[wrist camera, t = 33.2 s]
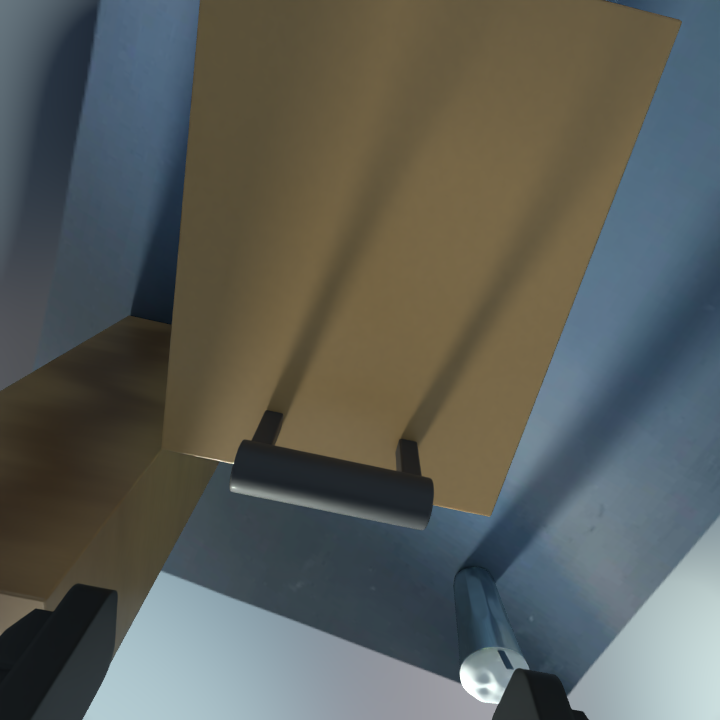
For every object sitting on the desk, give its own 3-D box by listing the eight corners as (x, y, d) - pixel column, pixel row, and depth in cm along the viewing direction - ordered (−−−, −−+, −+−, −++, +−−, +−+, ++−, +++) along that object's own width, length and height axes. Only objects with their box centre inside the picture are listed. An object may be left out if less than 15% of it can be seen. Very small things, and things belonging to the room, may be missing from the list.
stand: (123, 418, 37) (-205, 738, 16) (128, 315, 34) (-261, 542, 13) (231, 440, 37) (47, 781, 16) (245, 340, 34) (45, 600, 14)
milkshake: (508, 554, 40) (548, 672, 30) (495, 605, 42) (530, 731, 32) (451, 549, 40) (473, 665, 30) (441, 600, 42) (459, 724, 32)
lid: (486, 504, 20) (517, 600, 16) (168, 439, 20) (106, 519, 15) (668, 27, 14) (801, -37, 10) (217, -89, 14) (138, -215, 9)
